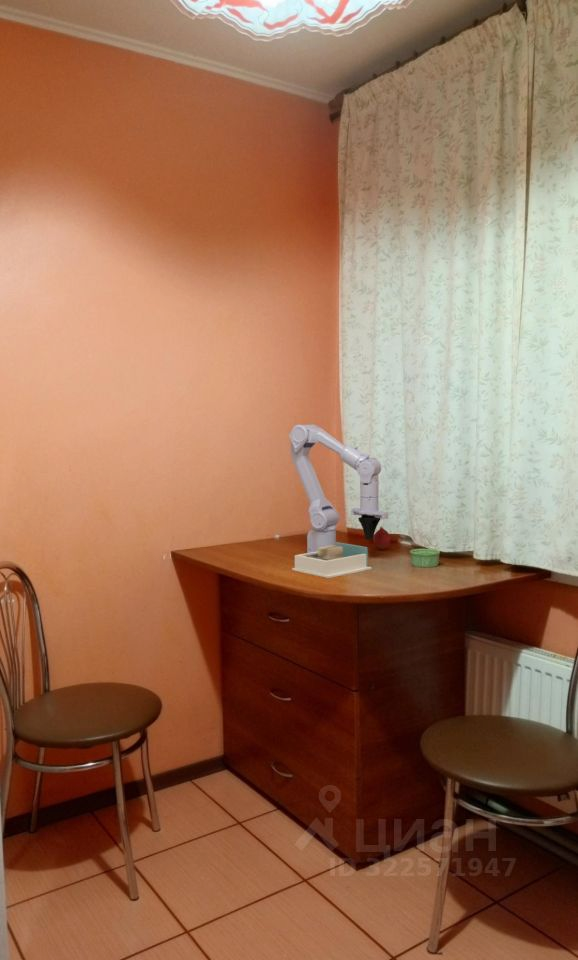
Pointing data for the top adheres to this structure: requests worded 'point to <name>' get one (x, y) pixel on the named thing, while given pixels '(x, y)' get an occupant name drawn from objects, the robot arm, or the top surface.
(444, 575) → the top surface
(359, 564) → the housing
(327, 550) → the block
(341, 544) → the tray
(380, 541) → the onion
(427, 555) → the ramekin
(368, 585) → the top surface
